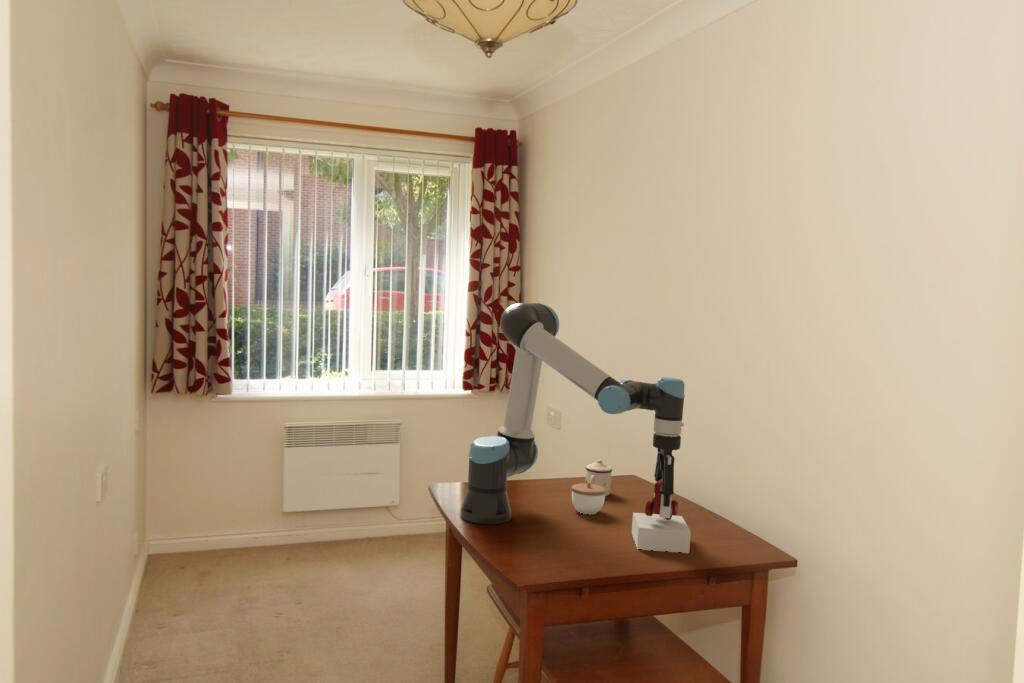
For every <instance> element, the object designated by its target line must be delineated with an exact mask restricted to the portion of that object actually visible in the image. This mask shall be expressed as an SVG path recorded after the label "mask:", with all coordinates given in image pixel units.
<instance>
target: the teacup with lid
mask: <svg viewBox="0 0 1024 683" xmlns="http://www.w3.org/2000/svg"><path fill="white" fill-rule="evenodd" d="M585 471H586V472H585V482H584V483H586V484H587V483H588V482H590V483H591V484H595V485H599V486H602V487H604V488H605V489H606V493H605V497H607V496H609V495H610V494H611V482H612V472H613V469H612V467H611V466H610V465H607V464H606V463H604V462H603V460H602V459H596V461H595V462H592V463H590V464H587V465H586V466H585Z"/></svg>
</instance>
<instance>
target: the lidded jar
mask: <svg viewBox="0 0 1024 683" xmlns="http://www.w3.org/2000/svg"><path fill="white" fill-rule="evenodd" d="M605 493H606V489H605V488H604V487H602V486H599V485H595V484H591V483H590V482H588V483H587V484H586V483H585V482H584V483H583V482H582V483H575V484H573V485H571V500H572V501H571V502H572V504H573V507H574V508H575V509H576V510H577V513H579V512H580V513H579V514H581V513H583V514H582V515H586V514H589V515H591V514H592V515H593V514H594V515H596V514H597V513H598V512H599V511H601V509H602V508H603V506H604V503H605V499H606V496H605ZM589 515H588V516H589ZM592 515H591V516H592Z"/></svg>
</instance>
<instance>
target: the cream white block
mask: <svg viewBox="0 0 1024 683" xmlns="http://www.w3.org/2000/svg"><path fill="white" fill-rule="evenodd" d="M691 533H692V532H691V529H690V528H689V526H688V525H687V523H686V521H685V519H684V518H683V516H681V515H672V518H671V519H670V520H667V519H665V518H661V517H660V515H658V514H654V513H653V515H652V516H647V515H646V514H645V513H644V512H632V524H631V535H632V538H633V541H635V542H634V545H635V544H636V545H635V547H637V548H636V550H638V549H642V550H641V551H651V550H653V551H655V552H665V551H668V552H667V553H678V552H682V554H690V546H691V537H692V536H691V535H692V534H691Z"/></svg>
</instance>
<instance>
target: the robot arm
mask: <svg viewBox="0 0 1024 683" xmlns="http://www.w3.org/2000/svg"><path fill="white" fill-rule="evenodd" d="M499 325H500V330H501V332H502V334H503V336H504V337H505V338H506V339H507V340H508V341H509V342H510V343H511V345H512V346H513V348H514V350H515V353H514V360H513V367H512V372H511V373H512V374H511V379H510V386H509V392H508V397H507V403H506V410H505V416H504V422H503V425H502V426H500V427H499V428H498V430H497V435H488V436H481V437H478V438H475V439H474V440H473V441H472V442H471V443H470V448H469V452H468V459H469V460H468V461H469V462H468V477H467V491H466V494H465V497H464V500H463V502H462V504H461V507H460V518H461V519H463V520H464V521H466V522H469V523H474V524H480V525H499V524H505V523H507V522H509V521H510V520H511V518H512V509H511V505H510V500H509V497H508V494H507V493H508V492H507V491H508V490H507V489H508V488H507V487H508V486H507V485H508V478H509V477H512V476H515V475H521V474H523V473H525V472H526V471H528V470H530V469H531V468H532V467H533V466H534V465H535V464H536V462H537V459H538V457H539V449H538V445H537V444H536V441H535V437H536V434H535V433H534V432H533V430H532V425H533V421H534V420H533V419H534V413H535V406H536V400H537V395H538V388H539V383H540V377H541V370H542V364H543V363H545V364H546V365H548V366H549V367H551V369H553V370H555V371H556V372H557V373H559V374H560V375H562V376H563V377H564V378H565V379H567V381H570V382H571V383H573V384H574V385H575V386H576V387H578V388H579V389H580V390H582V391H583V392H585V393H586V394H588V396H590V397H592V399H594V400H596V401H597V404H598V405H599V408H600V409H601V411H603V412H604V413H606V414H609V415H619V414H623V413H625V412H629V411H632V410H636V409H640V410H647V411H653V412H654V418H653V419H654V421H653V422H654V423H653V432H654V434H653V438H652V446H653V447H654V448H655V449H657V456H656V461H655V462H656V463H655V470H654V475H653V476H654V480H655V482H654V484H655V483H656V482H658V481H659V480H660V479H662V491H660V494H661V504H660V517H661V518H670V512H671V501H672V497H673V495H674V488H675V487H674V486H675V485H674V480H675V479H674V478H675V476H674V475H675V474H674V473H675V460H676V459H675V457H674V455H673V451H678V450H680V449H681V442H682V437H681V434H682V427H684V426H685V424H684V422H683V414H684V405H685V382H684V380H682V379H680V378H675V377H659V378H658V379H657V382H656V383H649V382H642V381H634V380H633V379H632V380H631V379H629V380H627V379H626V380H625V379H621V380H618V381H617V379H615V378H613V377H612V376H611V375H610V374H608V373H607V372H605V371H604V370H602V369H601V368H599V367H598V366H597V365H595V364H594V363H593V362H591V361H590V360H588V359H587V358H586V357H584V356H583V355H581V354H580V353H578V352H577V351H576V350H574V349H573V348H571V347H570V346H568V345H567V344H566V343H564V342H563V341H561V340H560V339H558V338H557V337H556V336H557V334H558V332H559V329H560V319H559V316H558V314H557V313H556V311H555V310H554V309H553V308H552V307H551V306H549V305H546V304H544V303H537V302H527V303H526V302H516V303H513V304H511V305H509V306H508V307H506V308H505V309H504V310H503V312H502V313H501V317H500V320H499ZM669 489H670V490H669ZM653 494H654V495H653V498H654V497H655V493H653Z"/></svg>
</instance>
